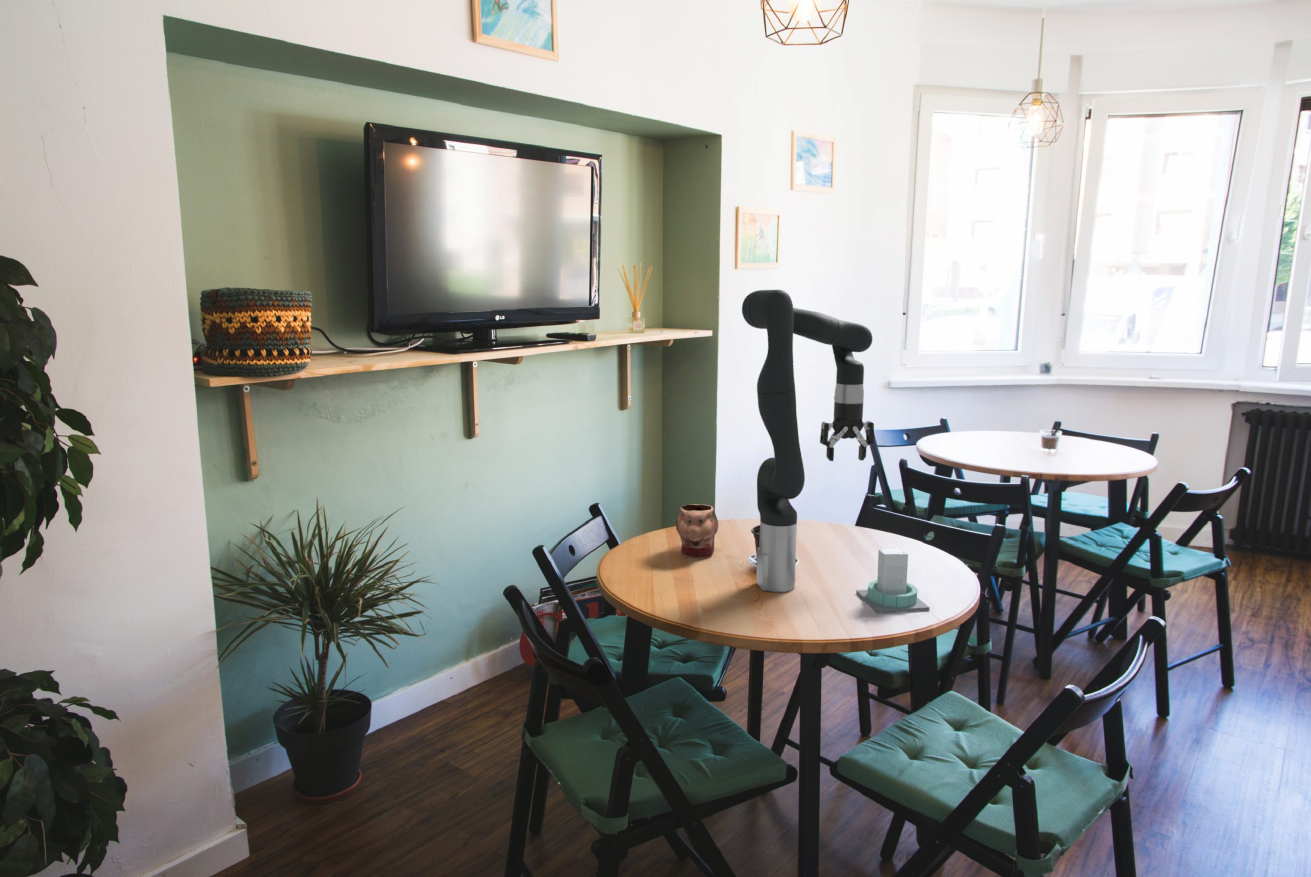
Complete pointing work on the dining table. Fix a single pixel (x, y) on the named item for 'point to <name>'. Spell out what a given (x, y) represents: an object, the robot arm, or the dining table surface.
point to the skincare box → (892, 571)
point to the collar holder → (892, 600)
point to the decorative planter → (697, 530)
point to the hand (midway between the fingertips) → (846, 460)
